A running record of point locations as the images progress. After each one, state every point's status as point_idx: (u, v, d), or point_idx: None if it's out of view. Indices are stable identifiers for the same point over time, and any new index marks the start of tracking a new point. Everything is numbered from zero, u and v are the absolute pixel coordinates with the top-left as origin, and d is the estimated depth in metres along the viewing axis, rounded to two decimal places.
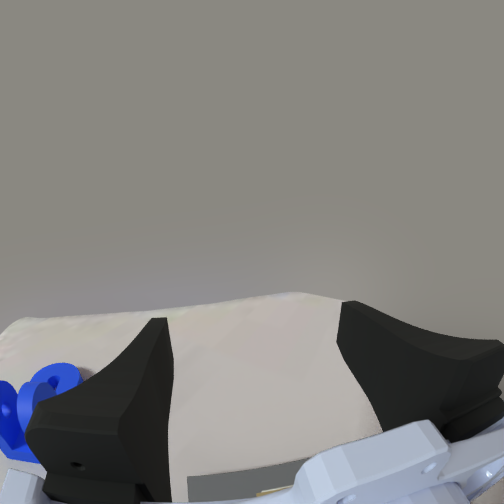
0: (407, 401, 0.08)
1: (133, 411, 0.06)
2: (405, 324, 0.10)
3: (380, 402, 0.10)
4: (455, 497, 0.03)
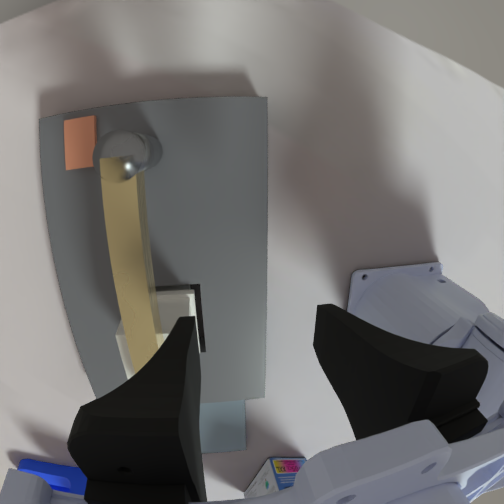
0: (377, 410, 0.08)
1: (183, 410, 0.06)
2: (379, 329, 0.10)
3: (353, 409, 0.10)
4: (455, 497, 0.03)
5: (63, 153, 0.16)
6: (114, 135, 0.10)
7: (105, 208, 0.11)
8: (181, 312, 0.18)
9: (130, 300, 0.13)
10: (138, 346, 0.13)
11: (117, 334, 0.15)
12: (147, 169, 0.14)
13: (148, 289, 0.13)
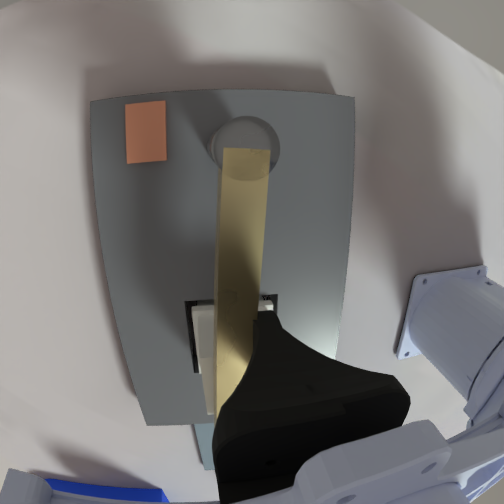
0: None
1: None
2: (297, 342, 0.09)
3: None
4: (455, 497, 0.03)
5: (122, 143, 0.14)
6: (247, 122, 0.09)
7: (223, 211, 0.10)
8: None
9: (233, 323, 0.11)
10: (229, 373, 0.12)
11: (201, 357, 0.14)
12: None
13: None
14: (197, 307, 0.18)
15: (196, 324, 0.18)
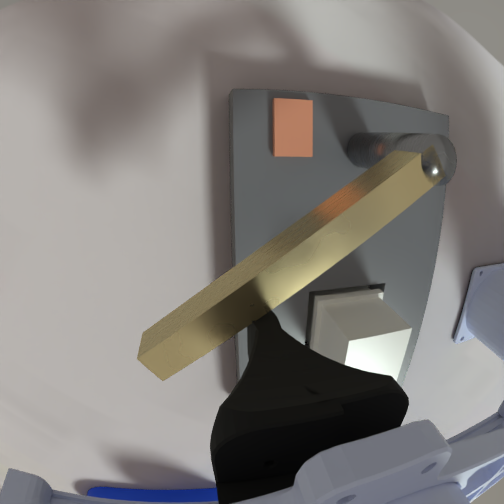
0: None
1: None
2: (296, 343, 0.09)
3: None
4: (455, 497, 0.03)
5: (267, 136, 0.15)
6: (451, 149, 0.10)
7: (400, 171, 0.10)
8: (385, 310, 0.18)
9: (321, 248, 0.10)
10: (262, 287, 0.11)
11: (350, 340, 0.15)
12: None
13: None
14: (320, 297, 0.19)
15: (319, 313, 0.19)
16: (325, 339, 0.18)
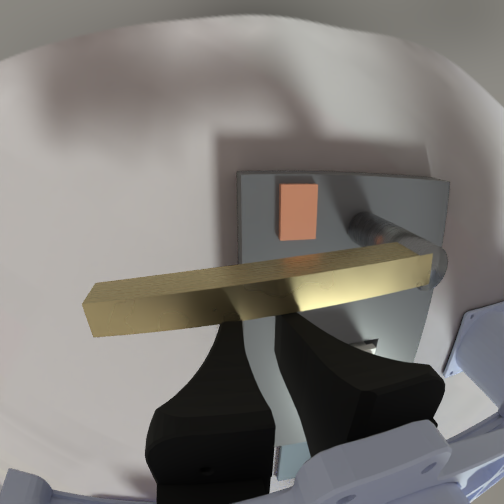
0: (323, 424, 0.08)
1: None
2: (331, 338, 0.09)
3: (305, 420, 0.09)
4: (455, 497, 0.03)
5: (273, 220, 0.17)
6: (444, 265, 0.12)
7: (395, 262, 0.11)
8: None
9: (300, 291, 0.11)
10: (232, 299, 0.11)
11: None
12: None
13: None
14: None
15: None
16: None
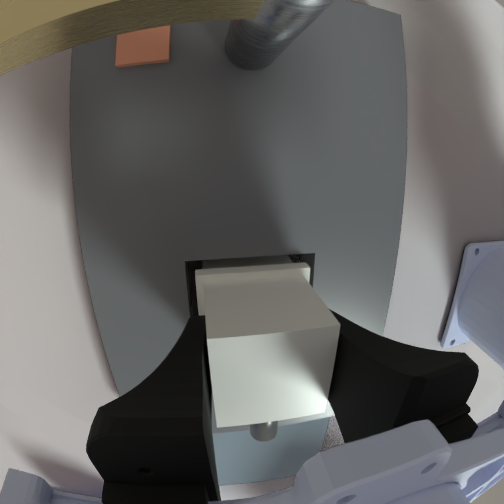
0: (364, 414, 0.08)
1: (204, 409, 0.06)
2: (367, 331, 0.10)
3: (341, 412, 0.09)
4: (455, 497, 0.03)
5: (112, 45, 0.09)
6: None
7: None
8: (304, 294, 0.11)
9: (9, 7, 0.03)
10: None
11: (210, 337, 0.09)
12: (241, 35, 0.07)
13: (25, 34, 0.04)
14: (203, 270, 0.13)
15: (201, 295, 0.13)
16: None
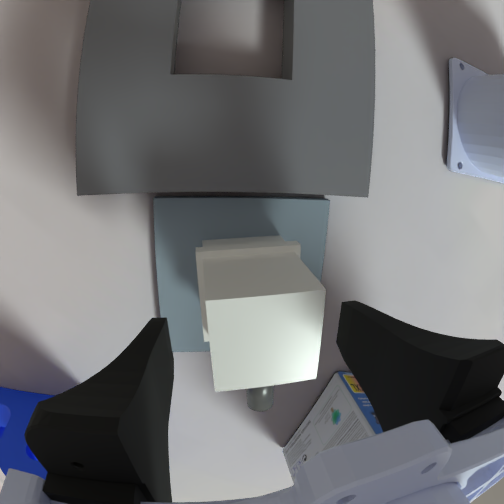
0: (407, 401, 0.08)
1: (133, 411, 0.06)
2: (405, 324, 0.10)
3: (380, 402, 0.10)
4: (455, 497, 0.03)
5: None
6: None
7: None
8: (294, 266, 0.13)
9: None
10: None
11: (208, 299, 0.10)
12: None
13: None
14: (202, 248, 0.14)
15: (201, 270, 0.14)
16: None
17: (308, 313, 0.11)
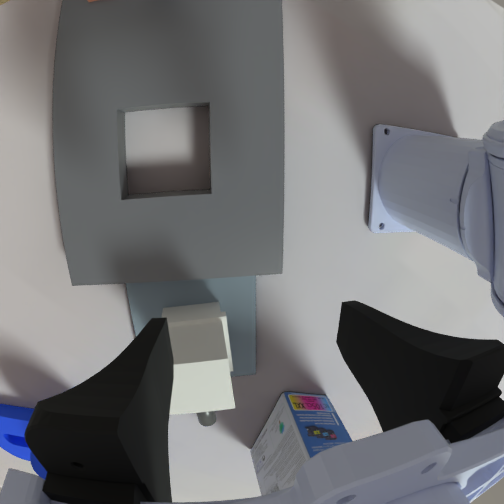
0: (407, 401, 0.08)
1: (133, 411, 0.06)
2: (405, 324, 0.10)
3: (380, 402, 0.10)
4: (455, 497, 0.03)
5: None
6: None
7: None
8: (215, 336, 0.18)
9: None
10: None
11: None
12: None
13: None
14: None
15: None
16: None
17: (219, 371, 0.16)
